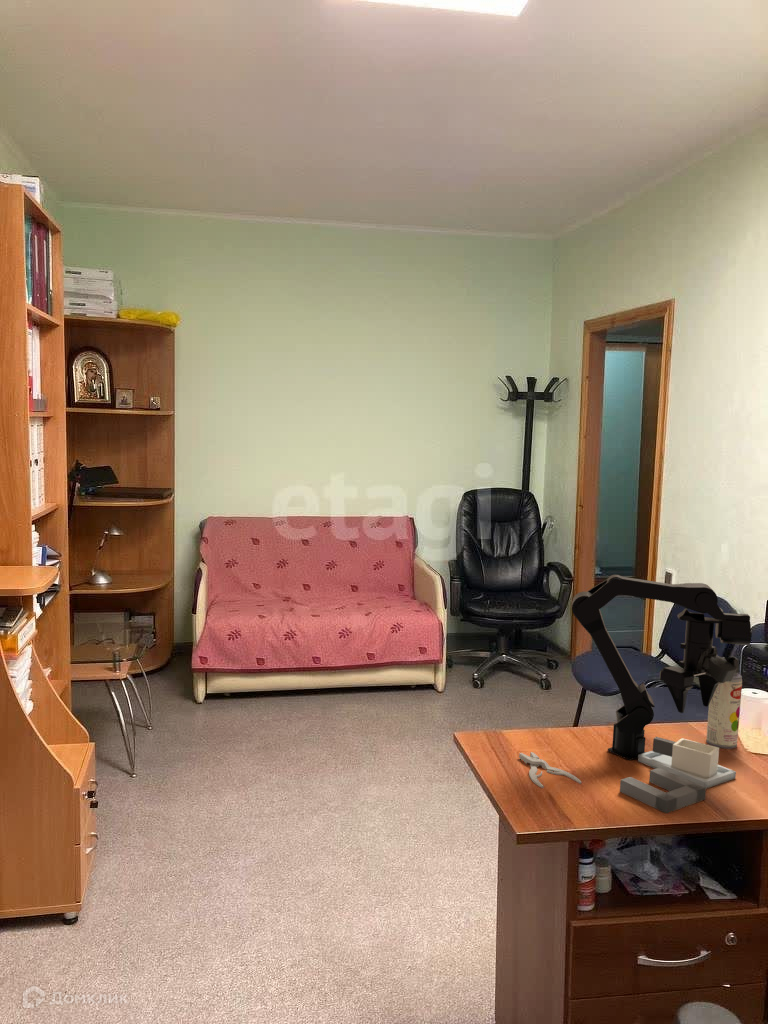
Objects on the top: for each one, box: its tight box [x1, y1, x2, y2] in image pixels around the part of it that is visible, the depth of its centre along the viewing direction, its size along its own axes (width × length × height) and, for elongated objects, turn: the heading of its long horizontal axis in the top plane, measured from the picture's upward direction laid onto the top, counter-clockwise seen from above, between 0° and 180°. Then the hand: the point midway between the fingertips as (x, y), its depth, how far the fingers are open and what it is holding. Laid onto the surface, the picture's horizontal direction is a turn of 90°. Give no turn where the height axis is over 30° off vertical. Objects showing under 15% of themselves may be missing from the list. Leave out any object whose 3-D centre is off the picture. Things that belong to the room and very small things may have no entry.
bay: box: [619, 768, 707, 814], centre depth 162 cm, size 11×12×2 cm
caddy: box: [652, 736, 720, 779], centre depth 175 cm, size 13×6×6 cm, turn 51°
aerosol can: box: [705, 673, 743, 750], centre depth 192 cm, size 7×7×20 cm
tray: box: [637, 750, 737, 790], centre depth 176 cm, size 17×11×2 cm
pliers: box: [518, 751, 582, 789], centre depth 172 cm, size 10×2×15 cm
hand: (693, 709), depth 179 cm, fingers open, 9 cm apart
